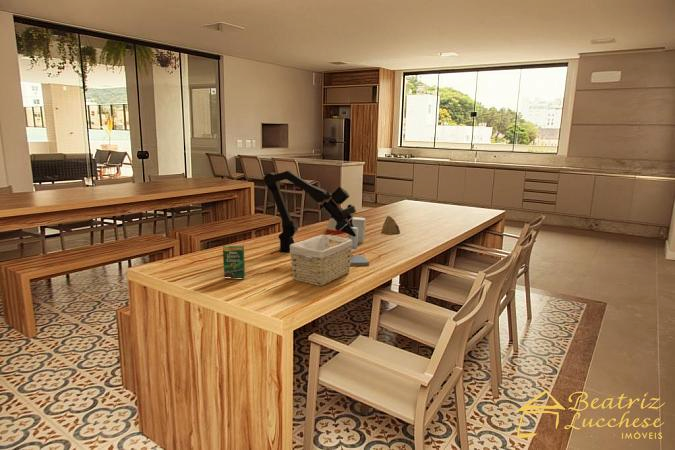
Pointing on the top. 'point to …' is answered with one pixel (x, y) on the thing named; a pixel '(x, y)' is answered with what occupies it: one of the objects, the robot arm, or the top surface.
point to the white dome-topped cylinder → (354, 238)
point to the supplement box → (360, 227)
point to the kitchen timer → (333, 226)
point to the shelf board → (358, 260)
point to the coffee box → (234, 261)
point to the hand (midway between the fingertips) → (356, 234)
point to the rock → (390, 226)
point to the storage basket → (320, 259)
